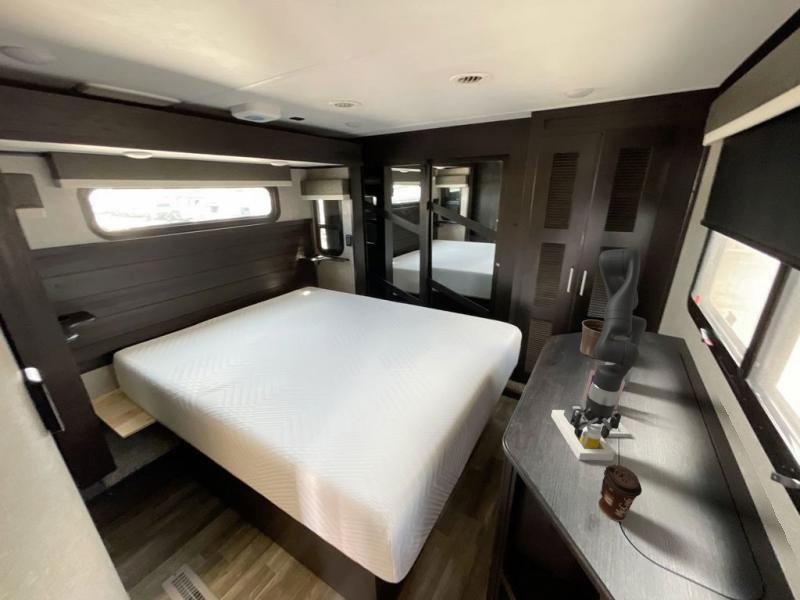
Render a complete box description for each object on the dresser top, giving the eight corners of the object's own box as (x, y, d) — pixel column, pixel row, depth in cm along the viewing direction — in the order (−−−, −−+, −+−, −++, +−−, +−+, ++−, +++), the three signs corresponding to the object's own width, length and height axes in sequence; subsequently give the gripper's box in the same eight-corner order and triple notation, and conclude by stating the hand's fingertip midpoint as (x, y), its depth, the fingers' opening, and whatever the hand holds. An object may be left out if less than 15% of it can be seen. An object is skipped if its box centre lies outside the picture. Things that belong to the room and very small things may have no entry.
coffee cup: (586, 495, 88) (597, 462, 83) (613, 493, 88) (625, 460, 84) (608, 526, 80) (621, 492, 75) (637, 524, 80) (652, 489, 76)
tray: (608, 413, 119) (609, 410, 118) (628, 437, 108) (630, 433, 107) (578, 413, 119) (579, 410, 118) (596, 436, 108) (597, 433, 108)
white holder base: (579, 416, 117) (584, 398, 114) (612, 460, 99) (619, 440, 96) (551, 416, 117) (555, 398, 114) (578, 459, 99) (584, 439, 96)
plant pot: (618, 361, 154) (626, 333, 148) (586, 361, 154) (593, 333, 148) (598, 345, 169) (606, 319, 163) (569, 345, 169) (576, 319, 163)
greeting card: (581, 401, 126) (590, 370, 120) (586, 392, 131) (594, 363, 125) (614, 414, 118) (624, 382, 113) (617, 405, 124) (628, 374, 118)
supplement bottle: (574, 444, 105) (580, 422, 101) (584, 439, 107) (591, 417, 103) (589, 456, 100) (596, 434, 97) (600, 450, 102) (607, 428, 99)
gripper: (617, 389, 99) (604, 428, 105) (573, 388, 99) (563, 427, 105) (633, 405, 92) (619, 445, 98) (586, 404, 92) (574, 444, 98)
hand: (590, 436), depth 102 cm, fingers open, 8 cm apart
